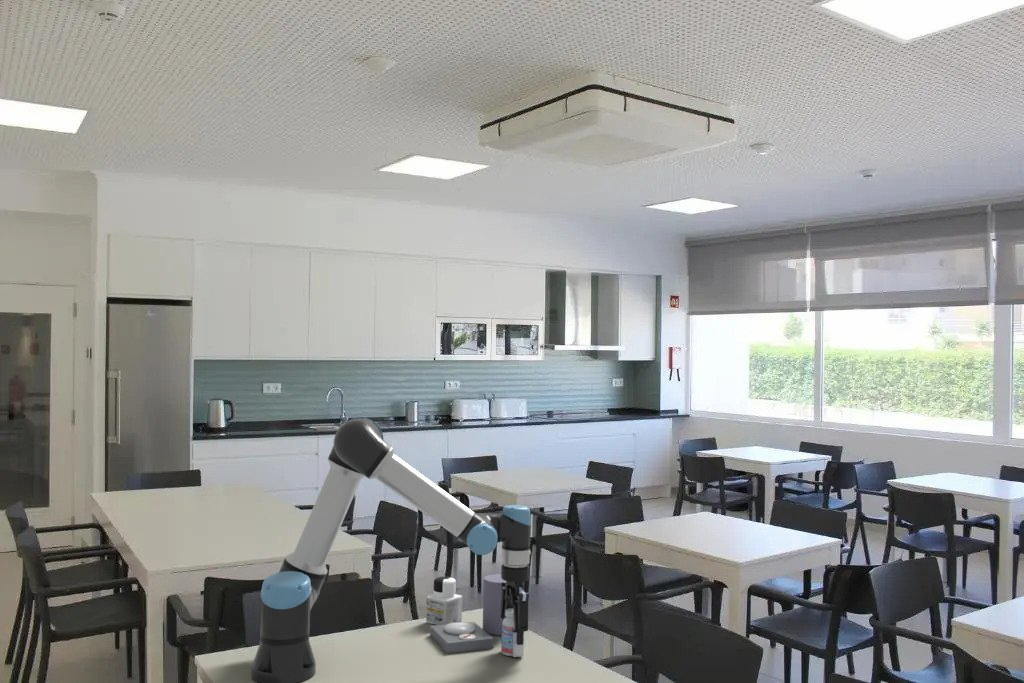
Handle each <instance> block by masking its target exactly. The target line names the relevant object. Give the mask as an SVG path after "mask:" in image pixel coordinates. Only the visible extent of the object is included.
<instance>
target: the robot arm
mask: <svg viewBox="0 0 1024 683" xmlns="http://www.w3.org/2000/svg"><path fill="white" fill-rule="evenodd" d="M330 450H331V451H330V453H329V456H327V460H328V464H329V470H328V473H327V474H326V477H325V479H324V482H323V484H322V486H321V488H320V491H319V492H318V493H319V494H318V496H317V498H316V500H315V501H314V502H315V503H314V505H313V507H312V509H311V511H310V514H309V516H308V518H307V521H306V522H305V526H304V528H303V530H302V532H301V535H300V537H299V540H298V542H297V544H296V547H295V549H294V551H292V552H290V553H288V554H287V555H285V557H284V559H283V562H282V564H281V566H280V569H279V571H278V572H276V573H275V574H270V575H269V576H267V577H266V578H265V579H263V582H262V585H261V591H260V598H261V600H260V603H261V604H260V628H259V629H260V631H259V632H260V634H259V635H260V637H259V646H258V648H257V650H256V654H255V656H254V660H253V662H252V665H251V676H250V677H251V678H252V680H253V681H255V682H258V683H300V682H303V681H306V680H308V679H310V678H312V677H313V676H315V674H316V669H317V668H316V667H317V664H316V663H317V662H316V659H315V656H314V652H313V648H312V645H311V642H310V628H311V627H310V625H311V624H310V621H311V620H310V619H311V610H312V608H313V606H314V604H315V603H316V601H317V600H318V598H319V595H320V592H321V589H322V586H323V584H324V581H325V578H326V577H327V574H328V569H327V566H326V562H327V559H328V558H329V555H330V552H331V551H332V548H333V545H334V543H335V541H336V539H337V536H338V534H339V531H340V529H341V527H342V525H343V522H344V520H345V517H346V515H347V513H348V511H349V508H350V505H351V504H352V501H353V498H354V497H355V494H356V492H357V490H358V487H359V485H360V482H361V480H362V479H365V478H367V479H369V480H371V479H372V480H373V479H376V480H377V481H379V482H380V483H382V485H384V486H386V488H388V489H390V490H391V491H392V492H393V493H395V494H396V495H398V496H399V497H401V498H402V499H403V500H405V501H406V502H407V503H409V504H411V505H412V506H413V507H415V508H416V509H417V510H419V511H420V512H421V513H423V514H424V515H426V516H427V517H429V518H430V519H431V520H432V521H434V522H436V524H438V525H439V526H441V528H444V529H445V530H446V531H448V532H449V533H450V534H452V535H453V536H455V537H456V538H457V540H458V541H459V542H462V543H464V544H465V545H466V546H467V547H468V548H469V550H470V551H471V552H472V553H474V554H476V555H478V556H485V555H489V554H490V553H492V552H493V551H494V550H495V549H496V547H497V544H498V543H501V554H500V555H501V558H500V559H501V560H500V562H501V566H500V568H501V569H500V572H501V573H500V574H501V578H502V579H503V580H505V581H506V582H502V583H501V586H502V597H501V615H500V617H501V619H503V620H504V619H505V618H506V616H505V610H506V609H509V608H513V612H514V624H515V630H512V631H513V656H512V657H513V658H519V657H524V652H523V649H524V650H525V634H524V632H528V631H529V598H530V594H529V592H525V587H524V586H525V585H524V583H525V582H527V581H528V580H529V579H530V566H529V564H530V557H531V556H530V555H531V554H532V551H531V527H532V523H531V522H532V521H531V509H530V508H529V507H528V506H526V505H521V504H511V505H510V504H509V505H505V506H503V507H502V511H501V512H499V513H494V512H493V513H489V512H487V513H486V512H474V511H473V510H471V508H469V507H467V506H466V505H465V504H463V503H462V502H461V501H460V500H458V499H457V498H455V497H454V496H452V495H451V494H449V493H448V492H447V491H446V490H444V489H443V488H442V487H441V486H439V485H438V484H437V483H435V482H433V481H432V480H431V479H430V478H428V477H426V476H425V475H424V474H422V473H421V472H419V470H417V469H415V468H414V467H413V466H412V465H410V464H409V463H407V462H406V460H405V461H404V460H403V459H402V458H401V457H399V456H398V455H397V454H395V452H394V448H393V446H392V445H390V444H388V443H387V441H385V440H384V434H383V431H382V429H381V427H380V426H379V425H378V423H376V421H373V419H370V418H366V417H364V416H362V417H361V416H360V417H353V418H351V419H349V420H348V421H346V422H344V424H342V425H341V426H340V427H339V428H338V429H337V431H336V432H335V435H334V438H333V446H332V449H330ZM516 601H518V602H516Z"/></svg>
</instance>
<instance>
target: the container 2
mask: <svg viewBox="0 0 1024 683" xmlns="http://www.w3.org/2000/svg"><path fill="white" fill-rule="evenodd" d="M502 582H506V581H505V580H503V579H502V578H501V573H493V574H488V575H485V576H484V577H483V592H482V594H483V598H482V600H483V601H482V629H483V630H484V631H485V632H487V633H488V634H489V635H490V636H498V637H499V636H501V637H502V622H503V619H501V617H500V615H501V597H502V586H501V583H502ZM516 602H518V601H516Z"/></svg>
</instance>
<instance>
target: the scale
mask: <svg viewBox="0 0 1024 683" xmlns="http://www.w3.org/2000/svg"><path fill="white" fill-rule="evenodd" d="M429 630H430V633H429V635H430V637H431V638H432V639H433V640H434V641H435V642H436V643H437V644H438V645H439V646H440V647H441V648H442V650H444V651H445V652H446V653H447V654H452V653H461V652H471V651H479V650H489V649H494V637H492V635H491V634H488V633H487V632H485V631H484V630H483V627H481V626H480V625H478V624H477V623H476V622H475V621H469V622H463V621H461V622H457V623H450V624H446V625H430V628H429Z"/></svg>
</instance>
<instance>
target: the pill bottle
mask: <svg viewBox="0 0 1024 683" xmlns="http://www.w3.org/2000/svg"><path fill="white" fill-rule="evenodd" d="M505 616H506V618H505V619H504V620H503V622H502V636H501V641H500V642H501V646H500V648H501V649H500V651H501V654H502V655H504V656H506V657H513V631H512V630H515V624H514V612H513V608H509V609H506V610H505ZM525 632H526V631H525ZM525 632H524V635H525ZM524 650H525V648H524V649H523V653H524V652H525V651H524Z"/></svg>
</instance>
